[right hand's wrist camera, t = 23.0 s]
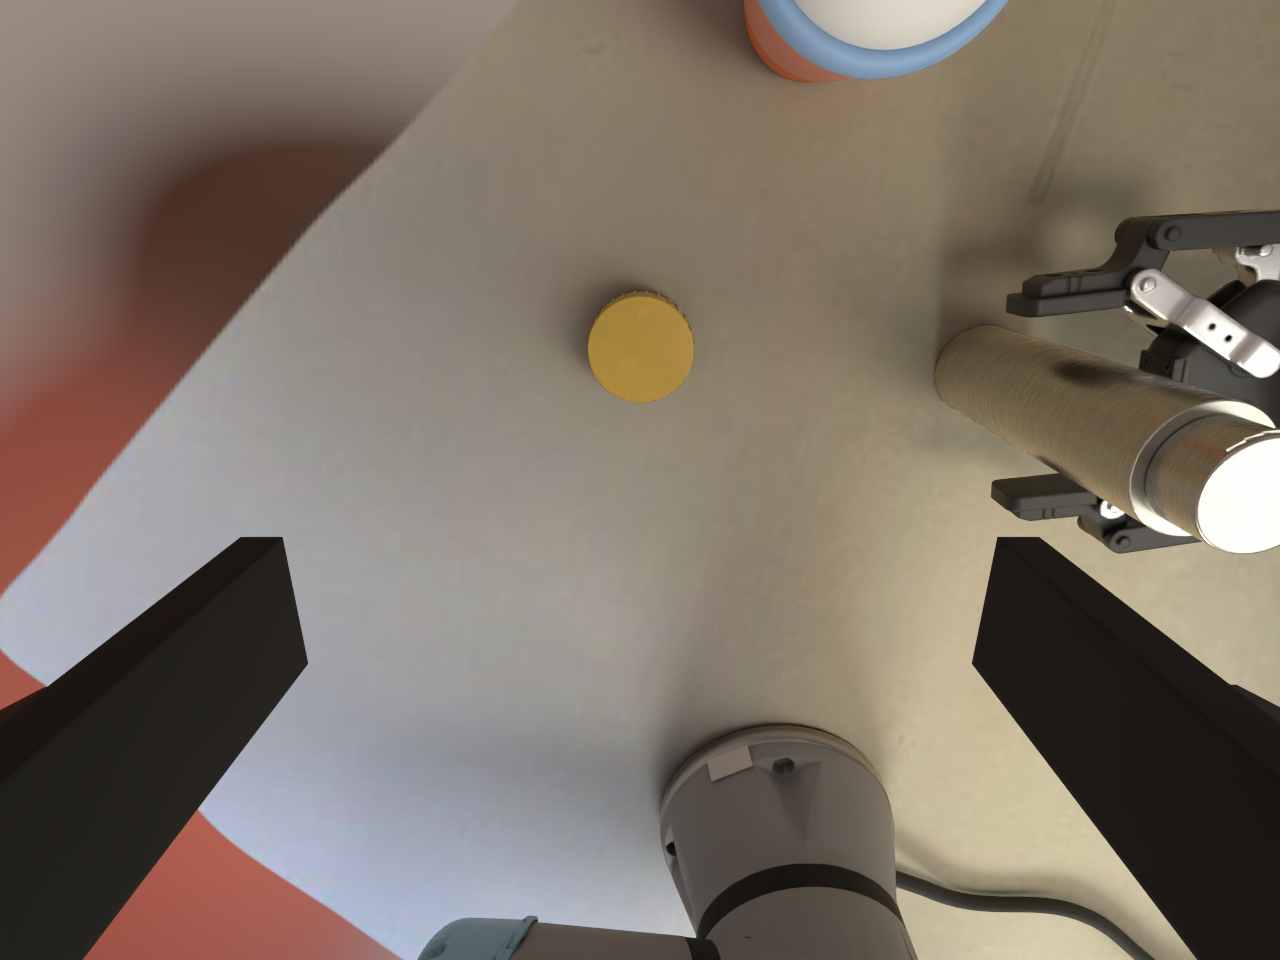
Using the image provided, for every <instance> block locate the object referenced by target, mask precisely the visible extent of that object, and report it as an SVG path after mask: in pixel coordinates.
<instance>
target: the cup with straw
mask: <svg viewBox="0 0 1280 960" xmlns="http://www.w3.org/2000/svg"><path fill="white" fill-rule="evenodd" d="M1008 1H1009V0H744V17H745V23H746V28H747V32H748V35H749V38H750V40H751V43H752V45H753V47H754V49H755V50H756V52H757V54H758V55H759V56H760V58H761V59H762V60H763V61H764V62H765V64H766V65H767V66H769V67H770V68H771V69H772V70H773V71H775V72H776V73H778V74H780V75H781V76H783V77H785V78H788V79H791V80H794V81H799V82H831V81H839V80H844V79H847V78H851V77H854V78H860V79H884V78H892V77H898V76H903V75H906V74H910V73H913V72H917V71H919V70H922V69H924V68H927V67H930V66H932V65H934V64H936V63H938V62H940V61H941V60H943V59H945V58H947V57H948V56H950V55H951V54H953V53H955V52H956V51H958V50H959V49H961V48H962V47H963V46H965V45H966V44H967V43H968V42H970V41H971V40H972V39H973V38H975V37H976V36H977V35H978V34H979V33H980V32H981V31H982V30H983V29H984V28H985V27H986V26H987V25H988V24H989V23H990V22H991V21H992V20H993V19H994V18H995V17H996V15H997V14H998V13H999V12H1000V11H1001V9H1002V8H1003V7H1004V6H1005V4H1006V3H1007V2H1008Z"/></svg>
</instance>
